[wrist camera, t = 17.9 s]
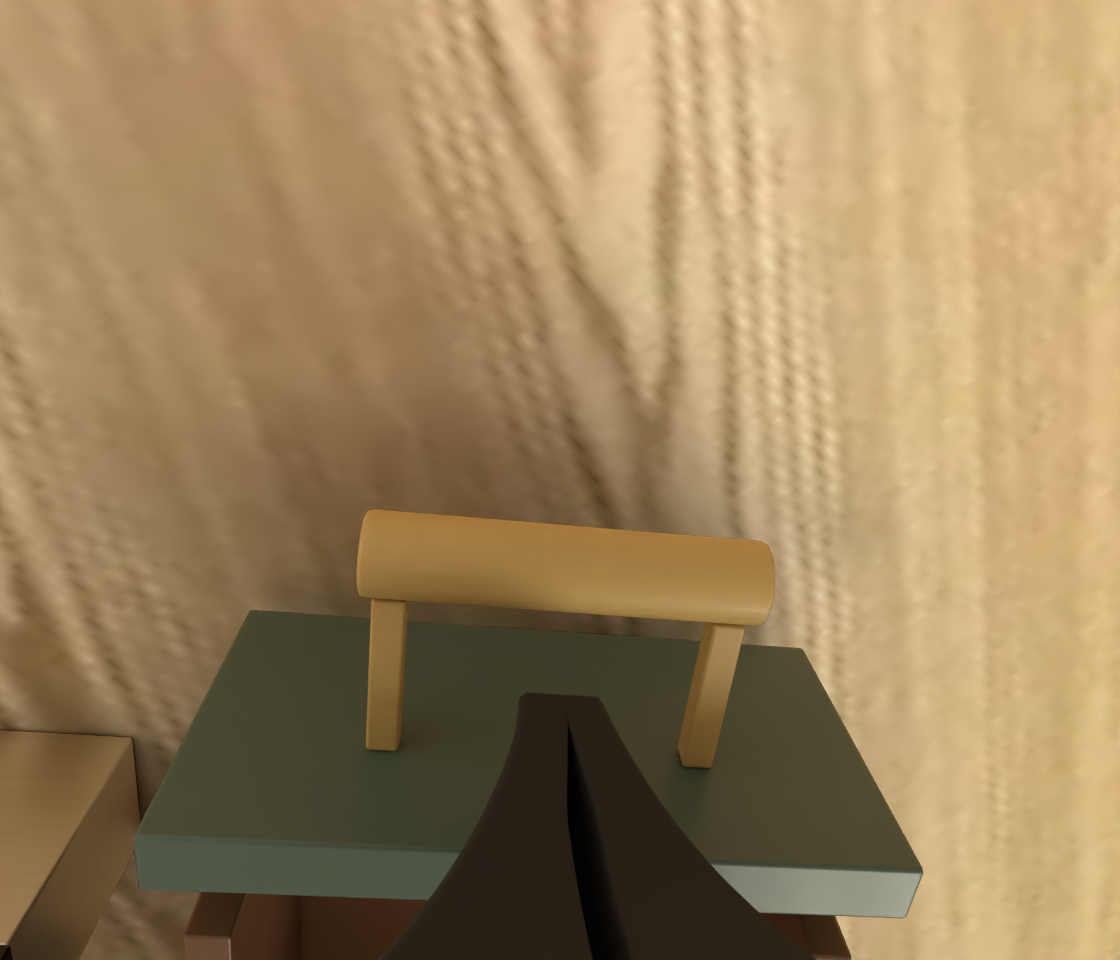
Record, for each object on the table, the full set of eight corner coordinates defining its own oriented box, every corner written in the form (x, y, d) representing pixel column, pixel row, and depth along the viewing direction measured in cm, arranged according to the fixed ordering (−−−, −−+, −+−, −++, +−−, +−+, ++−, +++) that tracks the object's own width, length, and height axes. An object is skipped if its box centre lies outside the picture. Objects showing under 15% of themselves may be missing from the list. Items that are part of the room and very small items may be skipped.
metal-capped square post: (7, 832, 23) (-170, 1087, 17) (-12, 724, 21) (-213, 961, 15) (147, 838, 23) (21, 1090, 17) (137, 733, 22) (-3, 967, 16)
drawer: (243, 412, 18) (103, 574, 12) (852, 469, 19) (1016, 640, 13) (260, 1001, 25) (179, 1295, 19) (702, 1012, 26) (762, 1290, 20)
